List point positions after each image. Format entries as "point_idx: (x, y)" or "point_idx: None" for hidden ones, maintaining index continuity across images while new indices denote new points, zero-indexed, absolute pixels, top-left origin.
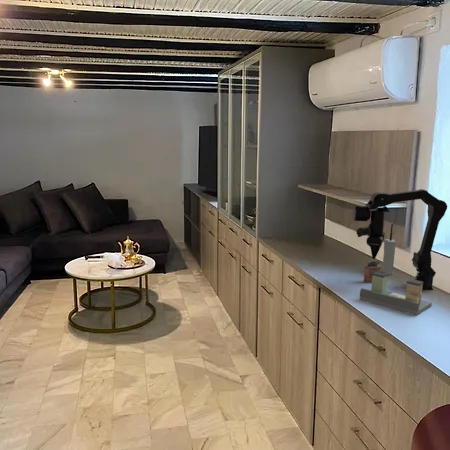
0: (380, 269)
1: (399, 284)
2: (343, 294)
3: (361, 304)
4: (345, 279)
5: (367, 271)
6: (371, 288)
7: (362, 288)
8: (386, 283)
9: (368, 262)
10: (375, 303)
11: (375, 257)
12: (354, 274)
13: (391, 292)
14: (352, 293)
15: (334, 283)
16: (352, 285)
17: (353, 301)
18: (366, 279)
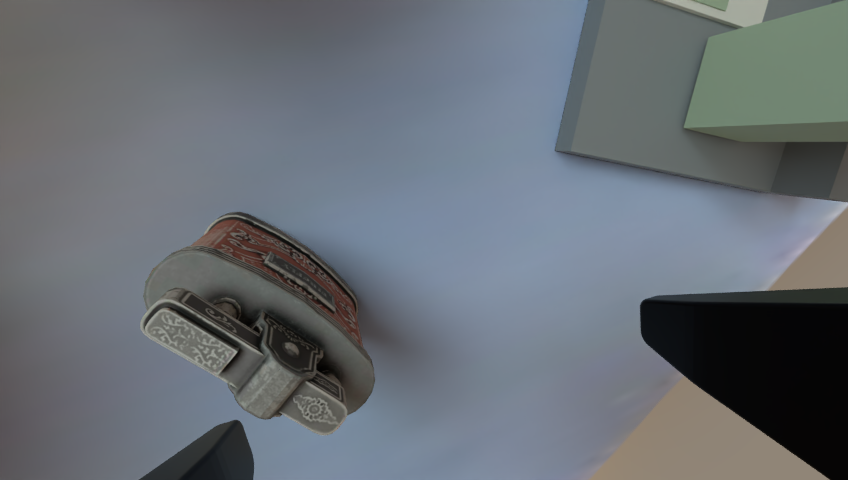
0: (203, 245)
1: (155, 13)
2: None
3: None
4: (375, 451)
5: (361, 342)
6: (788, 140)
7: (832, 194)
8: (820, 9)
9: (345, 409)
10: None
11: (680, 295)
12: None
13: (606, 9)
14: (669, 273)
15: (527, 451)
16: (497, 346)
17: (802, 210)
18: (354, 309)
